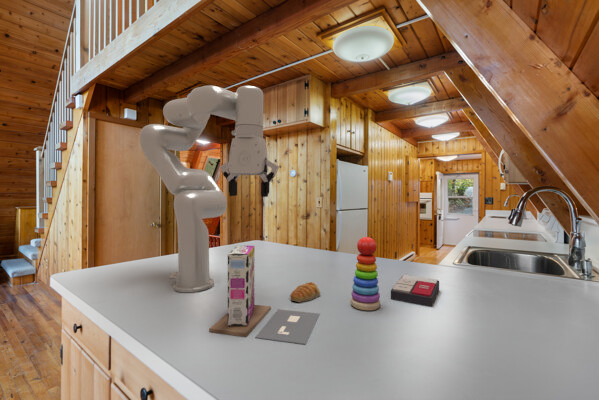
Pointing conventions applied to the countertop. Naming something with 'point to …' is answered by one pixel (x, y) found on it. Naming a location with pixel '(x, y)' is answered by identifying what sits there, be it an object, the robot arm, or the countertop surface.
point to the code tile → (289, 326)
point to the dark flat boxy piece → (416, 290)
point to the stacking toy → (366, 277)
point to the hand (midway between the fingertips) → (248, 196)
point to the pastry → (305, 292)
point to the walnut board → (243, 331)
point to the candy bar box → (240, 285)
